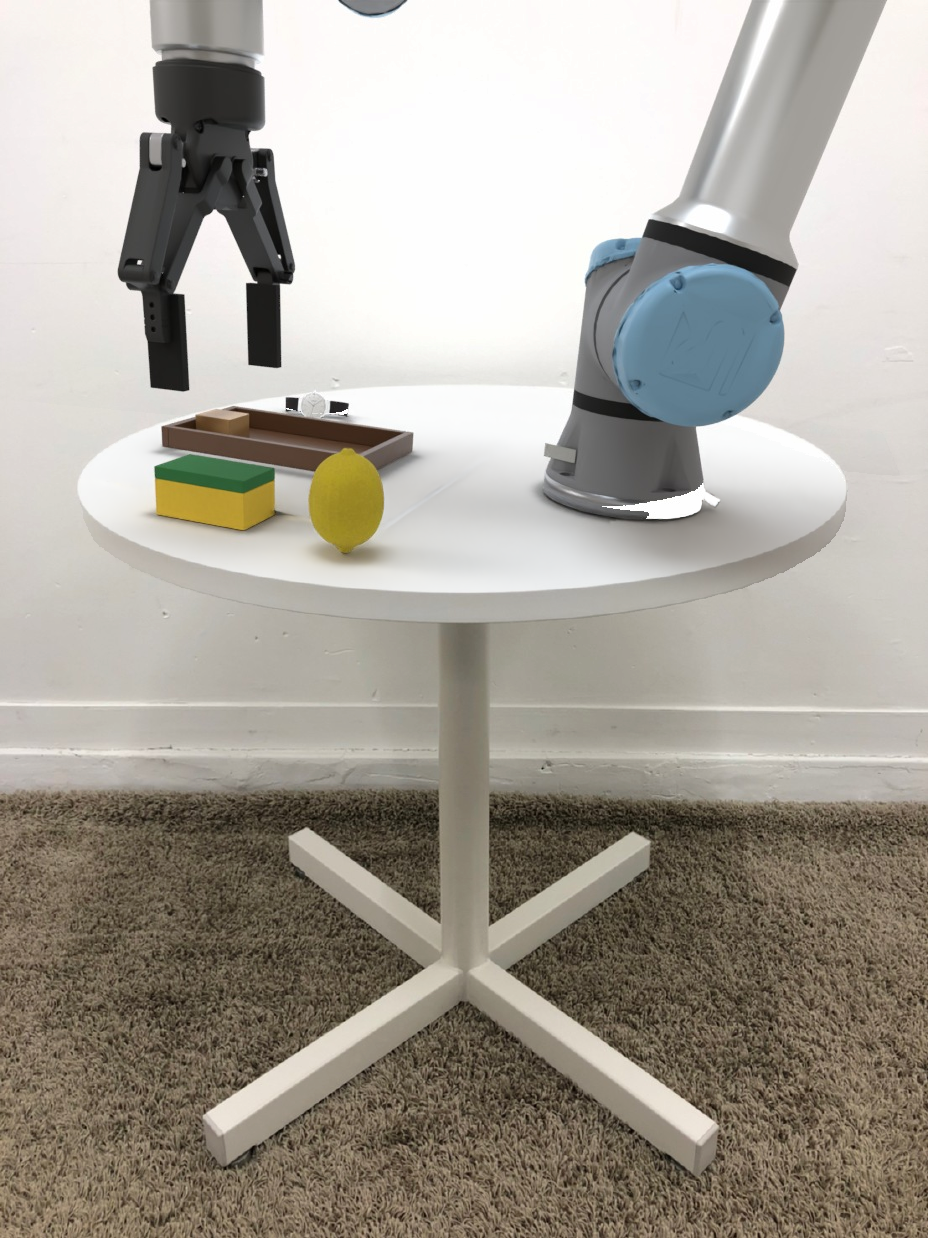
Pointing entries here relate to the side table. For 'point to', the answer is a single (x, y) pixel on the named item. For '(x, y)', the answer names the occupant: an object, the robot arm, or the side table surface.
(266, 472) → the sponge
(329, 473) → the lemon
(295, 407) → the watch
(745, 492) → the side table surface
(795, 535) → the side table surface
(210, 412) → the tan wooden block
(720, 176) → the robot arm
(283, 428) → the tray
